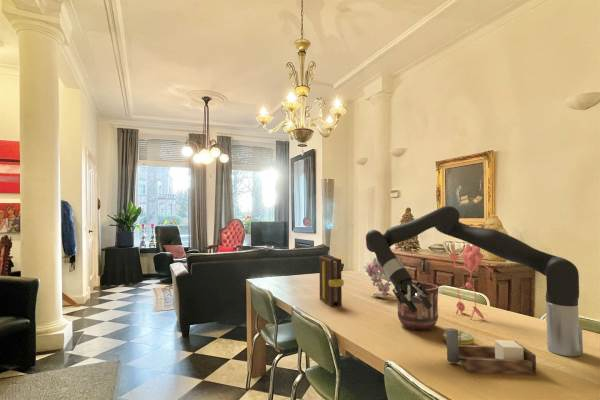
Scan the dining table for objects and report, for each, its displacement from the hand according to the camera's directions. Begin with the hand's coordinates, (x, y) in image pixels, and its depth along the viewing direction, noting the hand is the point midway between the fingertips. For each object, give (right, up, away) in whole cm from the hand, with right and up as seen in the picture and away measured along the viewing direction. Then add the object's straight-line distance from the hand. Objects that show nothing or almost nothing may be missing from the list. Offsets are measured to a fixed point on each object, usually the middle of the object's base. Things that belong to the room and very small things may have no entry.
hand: (422, 309), depth 123 cm
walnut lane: (+19, -15, -11) cm, 26 cm away
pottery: (+8, -17, +28) cm, 34 cm away
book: (-27, -19, +70) cm, 77 cm away
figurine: (+41, -17, +44) cm, 62 cm away
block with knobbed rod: (+16, -14, -11) cm, 23 cm away
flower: (+6, -19, +87) cm, 89 cm away
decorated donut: (+17, -16, +9) cm, 25 cm away
